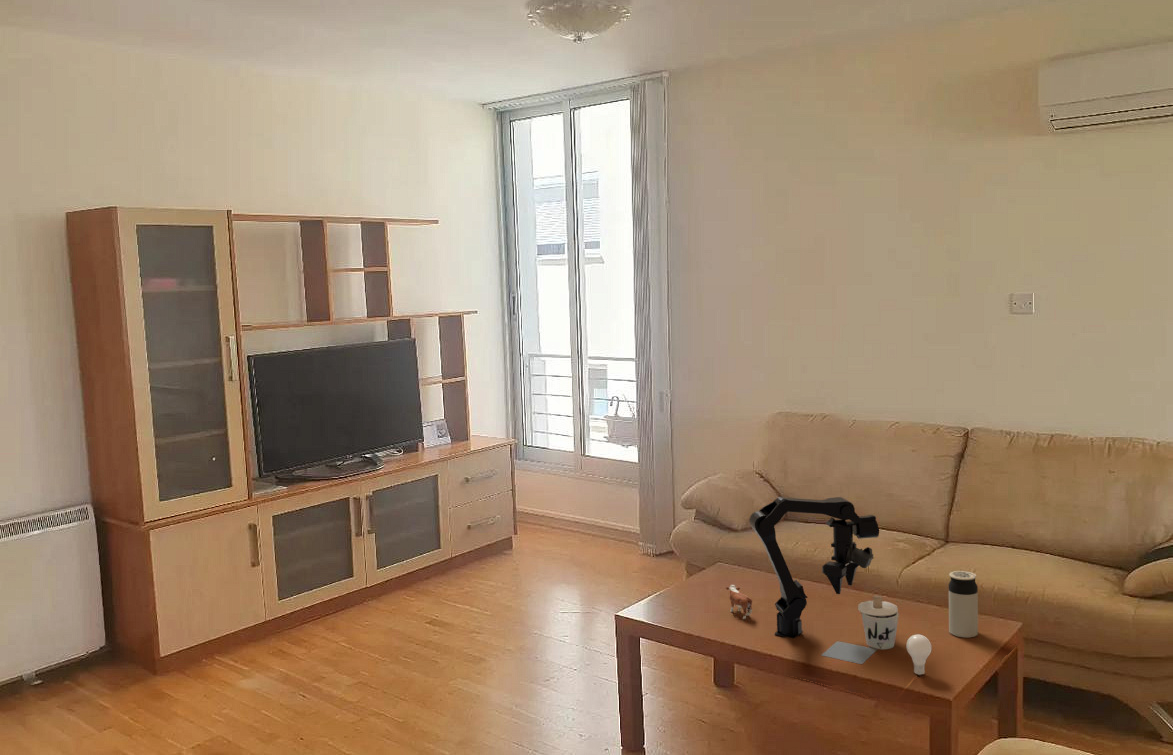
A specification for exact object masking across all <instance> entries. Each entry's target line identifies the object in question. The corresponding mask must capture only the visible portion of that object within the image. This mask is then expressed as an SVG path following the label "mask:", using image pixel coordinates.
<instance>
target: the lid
mask: <svg viewBox="0 0 1173 755" xmlns="http://www.w3.org/2000/svg"><path fill="white" fill-rule="evenodd" d="M857 607H858V611H859V612H860V613H861V612H862V613H864V614H867V615H871V616H891V615H894V614H896V613H897V612H898V613H899V611H898V606H897V605H896V604H894V603H891V602H890V601H883V597H882V596H881V595H874V596H872V600H866V601H863V602H859V604H858V606H857Z"/></svg>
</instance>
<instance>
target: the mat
mask: <svg viewBox="0 0 1173 755" xmlns="http://www.w3.org/2000/svg"><path fill="white" fill-rule="evenodd" d="M877 651H878V649H876V648H872V647H870V646H864V645H860V644H859V645H858V644H854V643H853V644H852V643H848V642H844V641H838V640H836V642H834V643H833V644H832V645H831V646H830V647H829V648H827V650H825V651H824V652H823V653H822V654H821V655H820V656H821V657H825V658H826V657H827V658H830V659H832V658H833V659H836V660H840V661H844V662H850V663H855V664H859V665H863V664H864V663H865V662H867V660H868V659H870V657H871V656H873V655H874V654H875V652H877Z"/></svg>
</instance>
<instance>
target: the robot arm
mask: <svg viewBox="0 0 1173 755" xmlns="http://www.w3.org/2000/svg"><path fill="white" fill-rule="evenodd" d="M855 509H856V508H855V505H854V504H853V503H852V502H850V501H849V500H848V499H846V498H844V497H842V496H836V497H835V496H834V497H828V498H825V499H811V498H797V497H796V498H795V497H784V496H779V497H777V498H775V499H774V500H773V501H772V502H770V503H768V504H766V505H764V506H763V507H762V508H761V509H759V510H757V511H754V512H753V513H751V514H750V517H749V519H748V522H749V526H751V528H752V530H753V531H754V532H755V534H756V535H757V537H758V538H759V539H760V541H761V543H762V544H763V546H764V549H765V551H766V553H767V556H768V558H769V561H770V564H771V566H772V568H773V570H774V572H775V575H776V576H777V579H778V582H779V591H780V594H781V595H780V596H781V597H780V598H778V600H777V601H776V602H775V603H774V606H775V608H776V610H777V611H778V612H777V613H776V632H774V635H775V636H779V637H784V638H791V639H796V638H797V637H799V635H800V634H802V633H803V632H804V631H803V627H802V625H803V624H802V619H801V616H802V612H803V611H804V610H805V609H806V606H807V605H808V602H807V599H808V596H807V595H806V593H805V590H804V587H803V584H801V583H800V582H799V581H798V580H797V579H795V580H794V579H793V577H792V574H791V572H790V569H789V567H788V565H787V562H786V560H785V558H784V554H783V553H782V551H781V549H780V546H779V544H778V542H777V535H776V533H777V532H776V529H775V526H777V524H778V523H780V521H781V520H782V518H783V517H784V516H785V515H786V514H787V513H801V514H814V515H815V514H817V515H825V516H828V517H830V518H829V520H827V521H826V522H825V524H826V525H827V526H828V527H829V528H832V532H833V533H832V535H833V542H832V543H831V544H830V545H831V546H830V547H831V548H833V555H832V556H831V561H830V560H829V561H828V562H826V563H824V564H823V565H822V567H821V570H822V572H821V573H822V574H824V575H825V576H826V577H827V579H828V581H829V583H830V584H831V586H832V588H833V590H834V592H835V594H836V595H840V594H841V590H842V584H843V582H842V581H843V578H844V577H845V579H846V582H847V586H852V585H853V584H854V578H855V575H856V572H857V570H858V567H860V568H863V569H867V568H868V567H869V566H871V563H872V560H874V554H873V549H872V548H871V547H869V546H867V547H865V548H864V549H863V548H858V547H857V543H856V541H854V537H856V538H857V539H859V540H862V539H874V538H878V537H879V534H880V528H879V525H878V524H879V523H878V521H877V517H876V516H875V515H874V514H868V515H864V516H863V515H861V516H859V515H858V513H856V511H855ZM847 520H848V521H847Z"/></svg>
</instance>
